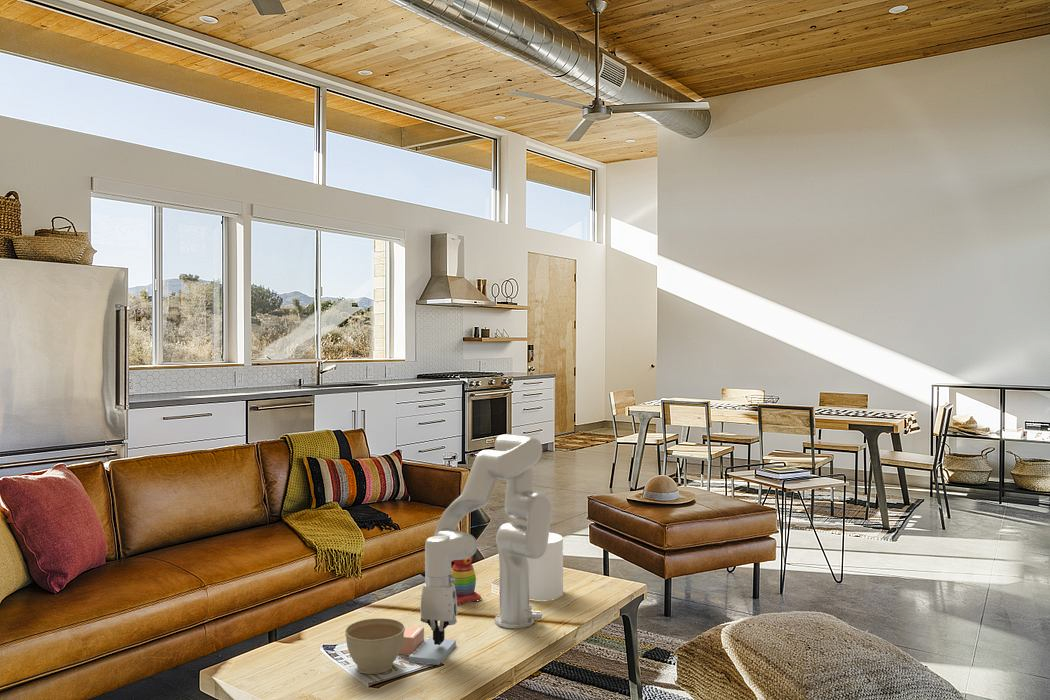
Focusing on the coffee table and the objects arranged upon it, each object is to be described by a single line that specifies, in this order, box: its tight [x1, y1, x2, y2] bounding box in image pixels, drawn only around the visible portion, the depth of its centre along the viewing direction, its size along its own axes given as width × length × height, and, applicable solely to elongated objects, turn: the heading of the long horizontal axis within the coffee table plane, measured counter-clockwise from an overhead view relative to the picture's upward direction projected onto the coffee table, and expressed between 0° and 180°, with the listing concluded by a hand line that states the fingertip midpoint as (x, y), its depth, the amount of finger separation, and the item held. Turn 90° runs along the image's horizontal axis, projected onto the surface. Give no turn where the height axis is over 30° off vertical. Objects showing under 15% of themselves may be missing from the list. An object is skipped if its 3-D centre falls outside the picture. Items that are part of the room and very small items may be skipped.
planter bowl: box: [344, 617, 406, 675], centre depth 209 cm, size 16×16×11 cm
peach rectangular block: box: [398, 625, 425, 656], centre depth 221 cm, size 5×8×5 cm, turn 166°
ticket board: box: [408, 636, 457, 666], centre depth 218 cm, size 9×14×2 cm, turn 166°
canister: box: [527, 531, 564, 601], centre depth 268 cm, size 16×16×20 cm
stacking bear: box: [451, 555, 482, 606], centre depth 263 cm, size 11×10×18 cm
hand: (438, 642), depth 218 cm, fingers closed
